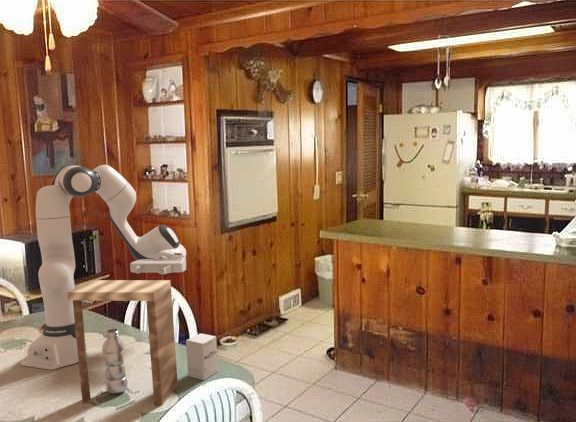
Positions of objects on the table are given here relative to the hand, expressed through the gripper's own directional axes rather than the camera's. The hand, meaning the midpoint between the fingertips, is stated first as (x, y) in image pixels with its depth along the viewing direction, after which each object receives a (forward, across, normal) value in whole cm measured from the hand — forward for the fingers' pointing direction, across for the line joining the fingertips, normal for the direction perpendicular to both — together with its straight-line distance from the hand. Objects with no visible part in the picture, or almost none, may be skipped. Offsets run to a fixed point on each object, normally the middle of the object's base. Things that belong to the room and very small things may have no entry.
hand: (149, 271), depth 183 cm
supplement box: (+13, +22, +32) cm, 41 cm away
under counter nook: (+28, +2, +32) cm, 42 cm away
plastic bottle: (+27, -2, +32) cm, 42 cm away
